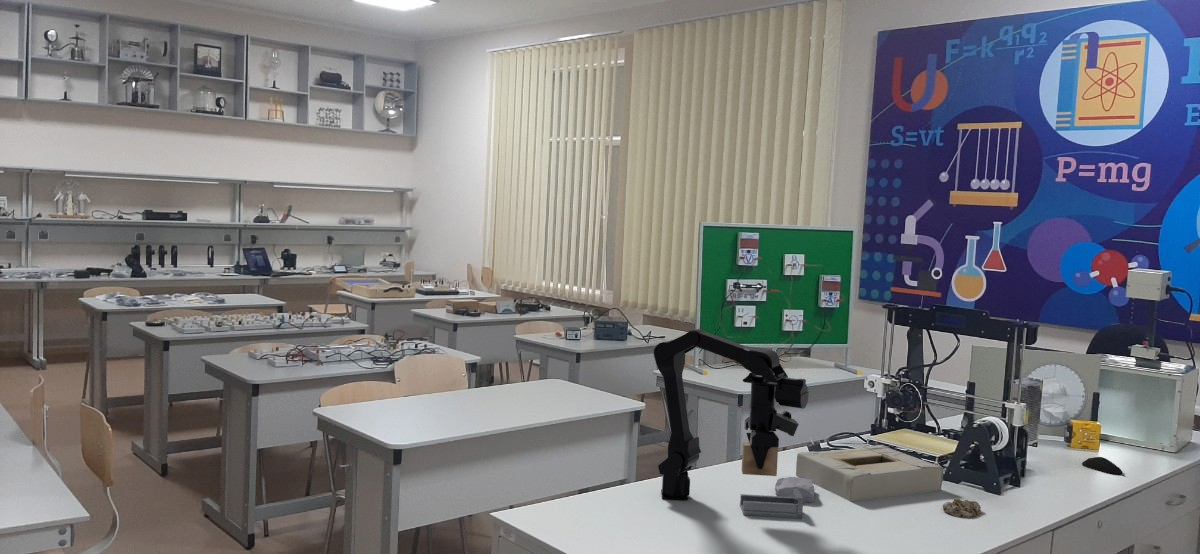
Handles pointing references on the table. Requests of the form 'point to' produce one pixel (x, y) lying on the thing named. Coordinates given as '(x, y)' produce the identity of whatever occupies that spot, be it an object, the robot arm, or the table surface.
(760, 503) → the floor track
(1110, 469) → the black teardrop lump
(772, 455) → the brown wooden block
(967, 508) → the mineral rock
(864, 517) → the table surface
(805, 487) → the stone block
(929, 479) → the box
